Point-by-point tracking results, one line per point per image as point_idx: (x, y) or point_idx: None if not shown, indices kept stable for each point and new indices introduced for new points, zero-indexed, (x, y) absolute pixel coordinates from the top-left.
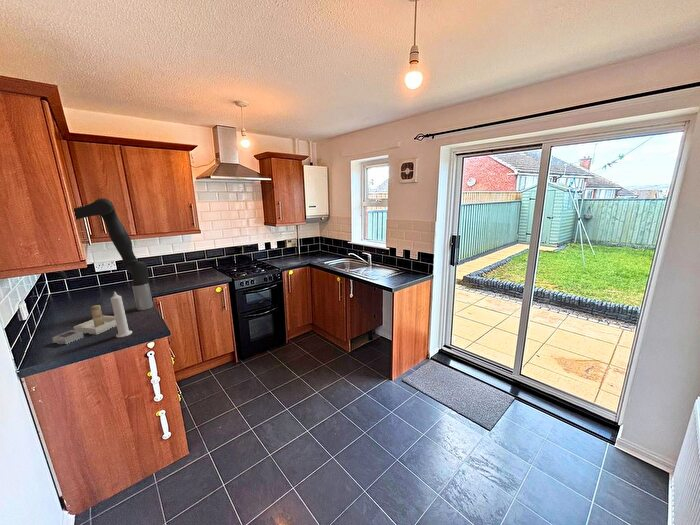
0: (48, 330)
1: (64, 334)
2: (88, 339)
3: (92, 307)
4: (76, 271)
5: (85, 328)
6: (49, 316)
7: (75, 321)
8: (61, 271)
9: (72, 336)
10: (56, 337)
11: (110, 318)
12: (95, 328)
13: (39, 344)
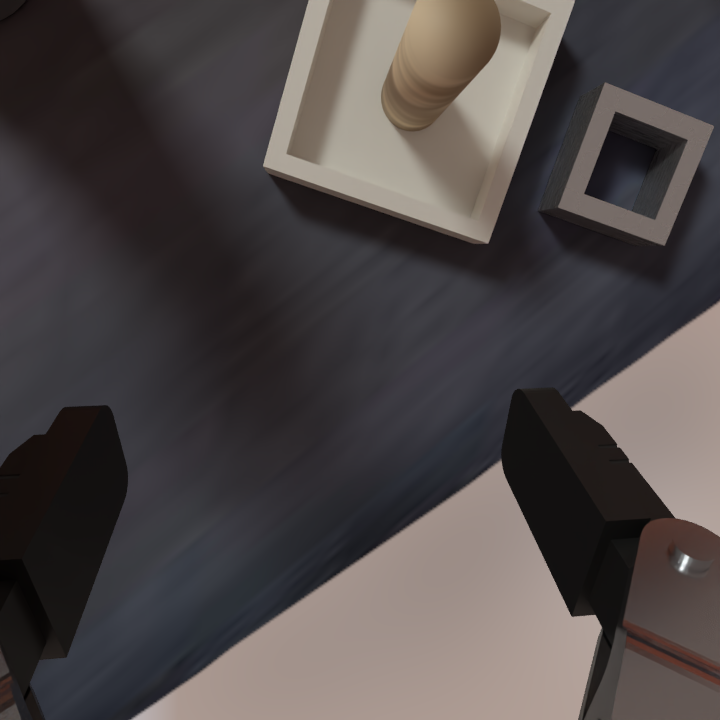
0: (396, 477)
1: (612, 206)
2: (628, 27)
3: (484, 38)
4: (89, 474)
5: (532, 115)
6: (120, 701)
7: (250, 416)
8: (705, 534)
9: (663, 109)
10: (672, 211)
11: (314, 62)
12: (570, 2)
13: (622, 338)
